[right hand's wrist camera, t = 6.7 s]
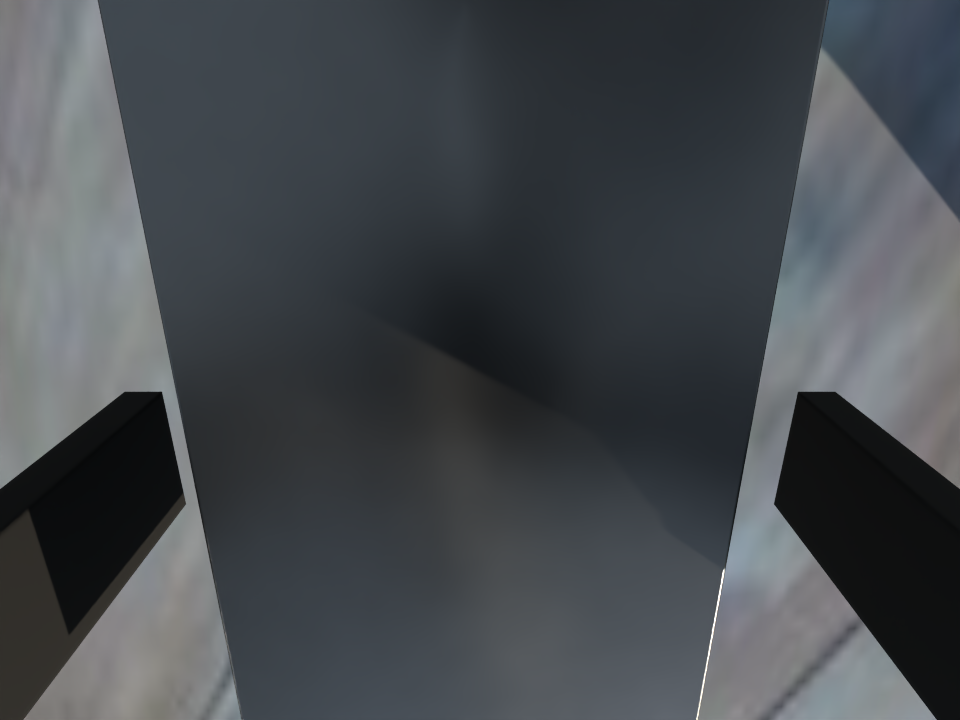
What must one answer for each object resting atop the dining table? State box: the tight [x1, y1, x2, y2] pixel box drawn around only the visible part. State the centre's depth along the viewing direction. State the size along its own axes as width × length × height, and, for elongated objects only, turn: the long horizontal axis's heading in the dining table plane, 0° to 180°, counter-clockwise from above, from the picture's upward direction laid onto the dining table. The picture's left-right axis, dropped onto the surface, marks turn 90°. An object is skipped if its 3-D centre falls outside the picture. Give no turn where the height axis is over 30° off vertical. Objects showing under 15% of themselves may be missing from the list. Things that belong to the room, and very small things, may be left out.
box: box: [98, 0, 829, 720], centre depth 10 cm, size 22×7×10 cm, turn 0°
